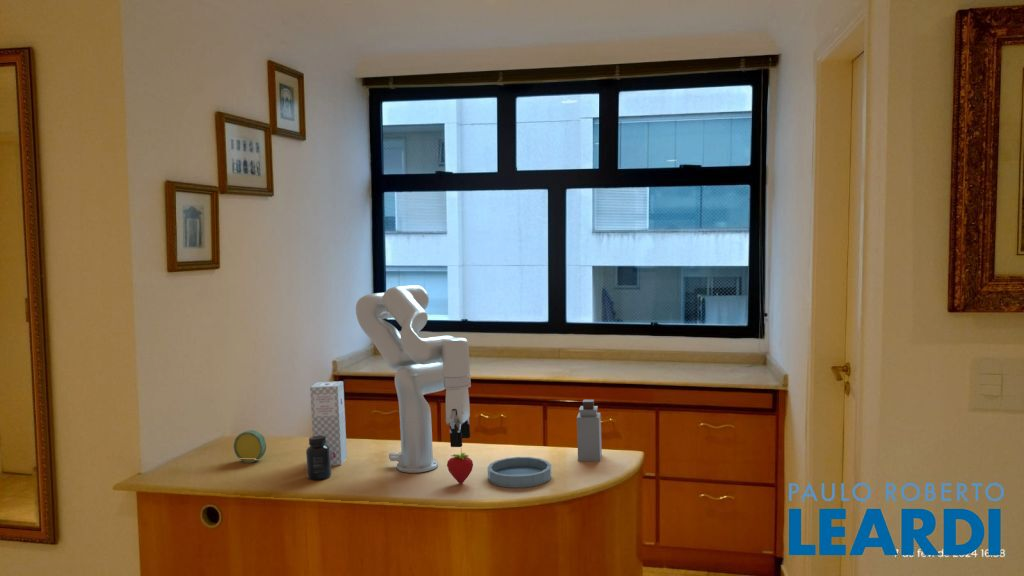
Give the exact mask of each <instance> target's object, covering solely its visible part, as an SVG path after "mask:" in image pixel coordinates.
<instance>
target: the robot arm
mask: <svg viewBox="0 0 1024 576" xmlns="http://www.w3.org/2000/svg"><path fill="white" fill-rule="evenodd" d="M429 298H430V297H429V294H428V292H427V290H425V288H424V287H422V286H421V285H417V284H413V285H411V284H410V285H398V286H393V287H390V288H388V289H387V290H386V291H384V292H375V293H369V294H365V295H363V296H361V297H360V298H359V299H358V300H357V301H356V304H355V315H356V319H357V322H358V324H359V326H360V328H361V329H362V331H363V332H364V334H365V335H366V336H367V337H368V338H369V339H370V340H371V341H372V343H373V344H374V345H375V347H376V349H377V350H378V352H379V354H380V355H381V357H382V358H383V359H384V361H385V363H386V364H387V366H388V367H389V369H391V370H393V371H396V373H395V375H394V387H395V390H396V395H397V400H398V409H399V412H398V413H399V428H400V448H401V449H400V450H401V451H400V452H397V453H396V452H389V454H388V459H389V460H390V462H391V461H392V462H395V461H397V464H396V469H397V470H398V471H400V472H403V473H409V474H416V473H425V472H429V471H432V470H435V469H436V468H438V466H439V461H438V460H437V459H435V458H434V453H433V450H434V449H433V432H432V431H433V430H432V411H431V406H430V404H429V403H428V401H427V400H426V399H425V397H424V395H427V394H432V393H437V392H438V393H439V392H442V391H444V390H445V424H446V425H449V441H450V447H451V448H462V447H463V439H470V438H471V426H470V417H471V413H470V412H471V407H470V395H469V388H471V387H472V385H471V383H472V381H471V368H470V367H471V365H470V350H469V349H470V347H469V341H468V340H467V338H465V337H455V336H452V335H441V336H440V335H438V336H431V337H419V335H418V334H417V333H419V332H420V331H422V330H423V329H424V327H425V326H426V325H427V322H428V313H427V311H426V309H427V308H428V306H429V303H430V299H429ZM385 319H386V320H387V319H394V320H395V321H396V322H397V324H399V326H400V327H401V330H400V332H399V330H398V328H396V327H395V326H394V325H393V324H392V323H391V322H388V321H386V320H385Z"/></svg>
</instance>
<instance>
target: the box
mask: <svg viewBox="0 0 1024 576" xmlns="http://www.w3.org/2000/svg"><path fill="white" fill-rule="evenodd" d="M309 388H310V389H309V390H310V408H311V409H310V410H311V426H312V427H311V429H312V437H313V436H325V437H326V443H325V444H326V445H328V446H329V448H330V461H331V467H332V466H342V465H343V464H344V463H345V461H346V459H347V458H348V453H347V452H348V447H347V432H346V428H347V427H346V408H345V391H344V381H343V380H339V381H317V382H314V384H313V385H312V386H310V387H309Z"/></svg>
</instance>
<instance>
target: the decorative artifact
mask: <svg viewBox="0 0 1024 576" xmlns="http://www.w3.org/2000/svg"><path fill="white" fill-rule="evenodd" d="M233 451H234V454H235V455H236V457H237V458H238V459H239V458H256V459H258V460H260V459H261V458H263V456H264V455H265V453H266V451H267V442H266V440H265V437H264V435H263V434H262V433H260V432H259V431H257V430H251V429H249V430H246V431H244V432H241V433H239V434H238V435H237V437H236V438H235V439H234V442H233ZM239 460H240V461H242V463H243V462H244V463H246V464H249V463H250V464H251V463H254V462H256V461H257V460H254V459H239Z"/></svg>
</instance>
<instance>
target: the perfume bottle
mask: <svg viewBox="0 0 1024 576" xmlns="http://www.w3.org/2000/svg"><path fill="white" fill-rule="evenodd" d="M598 407H599V406H598V405H595V399H583V400H582V405H580V407H579V409H578V411H579V412H578V414H577V416H576V437H577V438H576V439H577V440H576V441H577V442H576V443H577V461H578V462H601V459H602V456H603V455H602V417H601V416H602V415H601V412H598Z"/></svg>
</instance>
